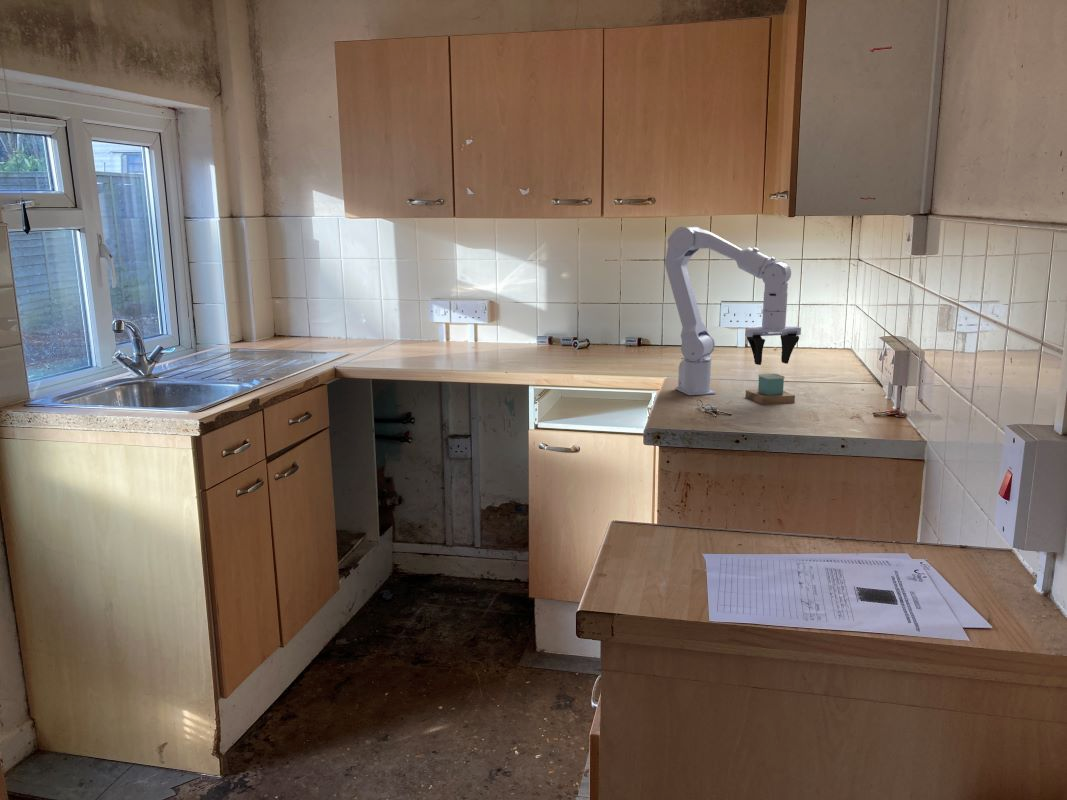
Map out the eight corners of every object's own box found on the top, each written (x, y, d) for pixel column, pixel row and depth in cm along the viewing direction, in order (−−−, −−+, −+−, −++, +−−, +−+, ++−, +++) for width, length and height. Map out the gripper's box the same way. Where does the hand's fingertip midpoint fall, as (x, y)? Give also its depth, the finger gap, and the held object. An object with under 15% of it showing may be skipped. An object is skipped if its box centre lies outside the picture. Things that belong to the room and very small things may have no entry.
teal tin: (757, 391, 215) (758, 374, 214) (773, 390, 216) (774, 373, 215) (766, 395, 210) (767, 377, 209) (783, 394, 211) (784, 376, 211)
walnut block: (745, 399, 217) (745, 390, 217) (776, 397, 219) (776, 388, 219) (762, 406, 209) (762, 397, 208) (794, 404, 211) (795, 395, 210)
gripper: (756, 313, 204) (753, 367, 206) (809, 311, 207) (805, 365, 210) (742, 310, 210) (739, 362, 213) (793, 308, 214) (790, 360, 217)
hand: (771, 363), depth 212 cm, fingers open, 7 cm apart
